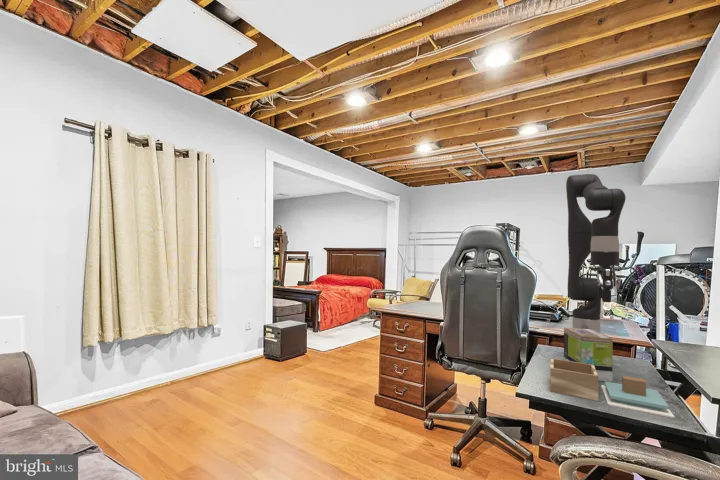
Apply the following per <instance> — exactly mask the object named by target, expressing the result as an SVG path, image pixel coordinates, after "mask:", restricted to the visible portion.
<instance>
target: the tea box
mask: <svg viewBox="0 0 720 480" xmlns="http://www.w3.org/2000/svg"><path fill="white" fill-rule="evenodd" d="M613 354H614V353H613V338H612V337H611V336H608V335H605V334H604V333H601V332H600V333H599V332H597V331H594V330H592V329H579V328H573V327H564V328H563V360H566V361H572V362H579V363H586V364H592V365H594V366H595V369H596V372H597V374H598V382H599V381H600V382H605V381H606V382H612V383H613V378H614V375H613V374H614V372H613V367H614V366H613Z"/></svg>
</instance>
